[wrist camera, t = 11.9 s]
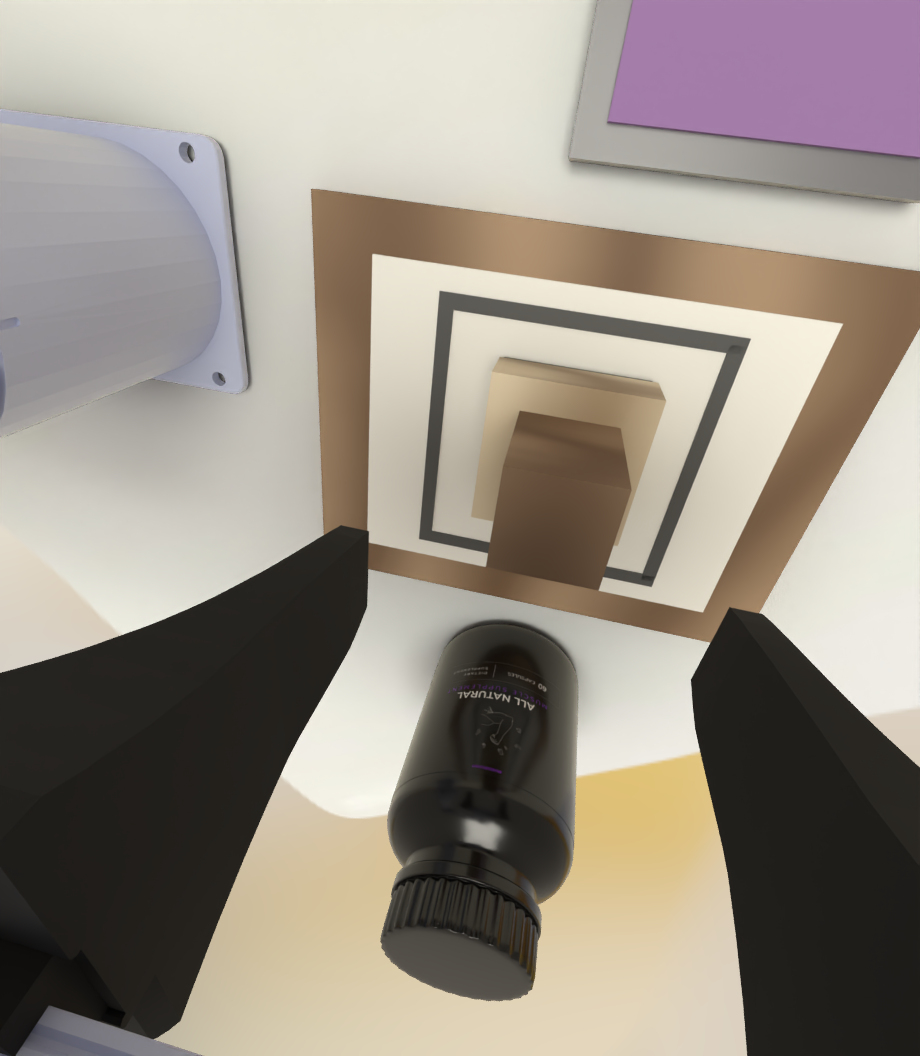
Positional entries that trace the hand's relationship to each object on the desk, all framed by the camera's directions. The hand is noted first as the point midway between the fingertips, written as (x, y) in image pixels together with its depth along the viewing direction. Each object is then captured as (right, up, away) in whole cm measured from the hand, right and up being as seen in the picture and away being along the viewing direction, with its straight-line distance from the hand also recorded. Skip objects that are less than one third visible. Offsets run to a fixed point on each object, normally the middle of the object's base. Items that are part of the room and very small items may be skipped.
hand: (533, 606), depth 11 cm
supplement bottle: (+1, -5, +15) cm, 16 cm away
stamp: (+2, +5, +8) cm, 9 cm away
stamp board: (+2, +5, +9) cm, 10 cm away
